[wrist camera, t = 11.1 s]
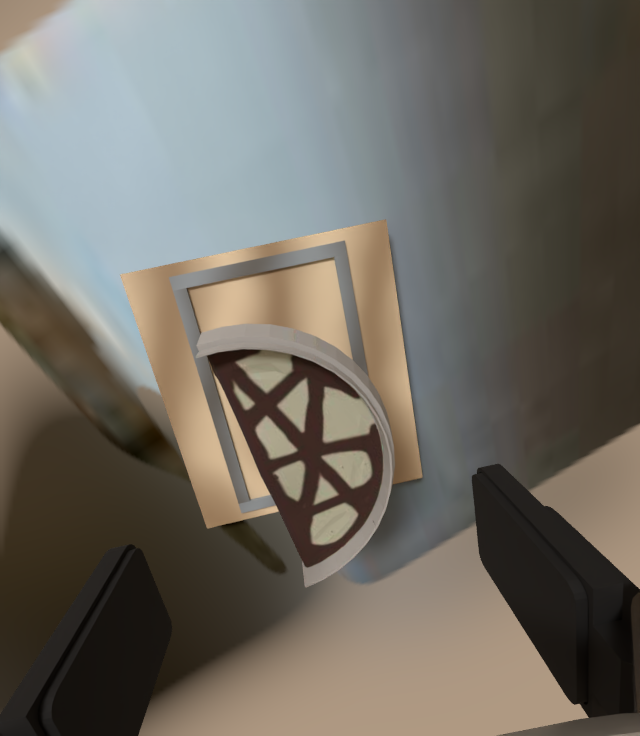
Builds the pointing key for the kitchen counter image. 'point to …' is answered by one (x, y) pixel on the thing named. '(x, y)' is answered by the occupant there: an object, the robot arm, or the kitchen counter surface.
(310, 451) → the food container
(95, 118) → the kitchen counter surface
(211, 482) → the base board
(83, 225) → the kitchen counter surface
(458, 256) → the kitchen counter surface
